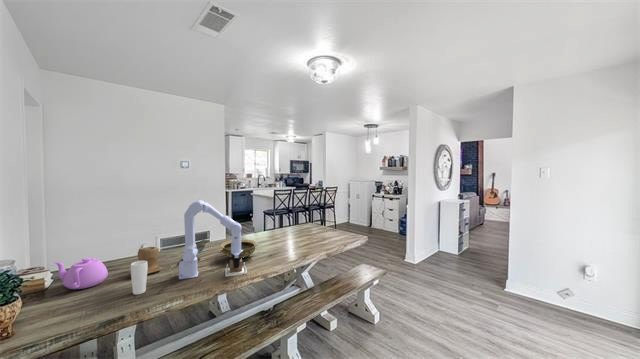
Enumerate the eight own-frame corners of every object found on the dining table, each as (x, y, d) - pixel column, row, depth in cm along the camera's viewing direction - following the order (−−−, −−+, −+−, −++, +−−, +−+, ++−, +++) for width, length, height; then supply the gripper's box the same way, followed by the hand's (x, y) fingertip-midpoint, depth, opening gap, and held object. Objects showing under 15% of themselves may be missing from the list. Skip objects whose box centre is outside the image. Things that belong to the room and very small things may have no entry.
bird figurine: (181, 266, 154) (197, 236, 162) (173, 263, 160) (189, 233, 168) (199, 271, 163) (213, 242, 171) (191, 268, 169) (205, 240, 177)
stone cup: (157, 266, 155) (157, 243, 155) (163, 271, 147) (163, 247, 147) (127, 273, 144) (127, 248, 143) (132, 280, 136) (132, 253, 135)
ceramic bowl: (225, 268, 155) (226, 252, 154) (210, 258, 171) (210, 244, 171) (266, 257, 176) (267, 243, 176) (249, 249, 193) (250, 236, 192)
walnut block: (229, 272, 146) (229, 262, 146) (229, 269, 150) (229, 260, 150) (241, 271, 148) (242, 261, 148) (241, 268, 152) (241, 258, 152)
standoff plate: (225, 276, 143) (225, 269, 142) (225, 270, 152) (225, 263, 151) (246, 274, 147) (246, 267, 147) (245, 268, 156) (245, 261, 156)
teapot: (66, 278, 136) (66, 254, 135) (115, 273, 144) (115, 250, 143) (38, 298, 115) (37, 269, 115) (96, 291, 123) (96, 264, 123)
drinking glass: (145, 287, 127) (145, 259, 127) (149, 292, 123) (149, 262, 123) (129, 292, 122) (128, 262, 122) (133, 297, 118) (132, 266, 117)
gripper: (243, 246, 143) (243, 269, 144) (242, 239, 157) (242, 260, 157) (231, 247, 141) (230, 271, 141) (230, 240, 154) (230, 262, 155)
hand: (236, 265), depth 149 cm, fingers open, 6 cm apart
